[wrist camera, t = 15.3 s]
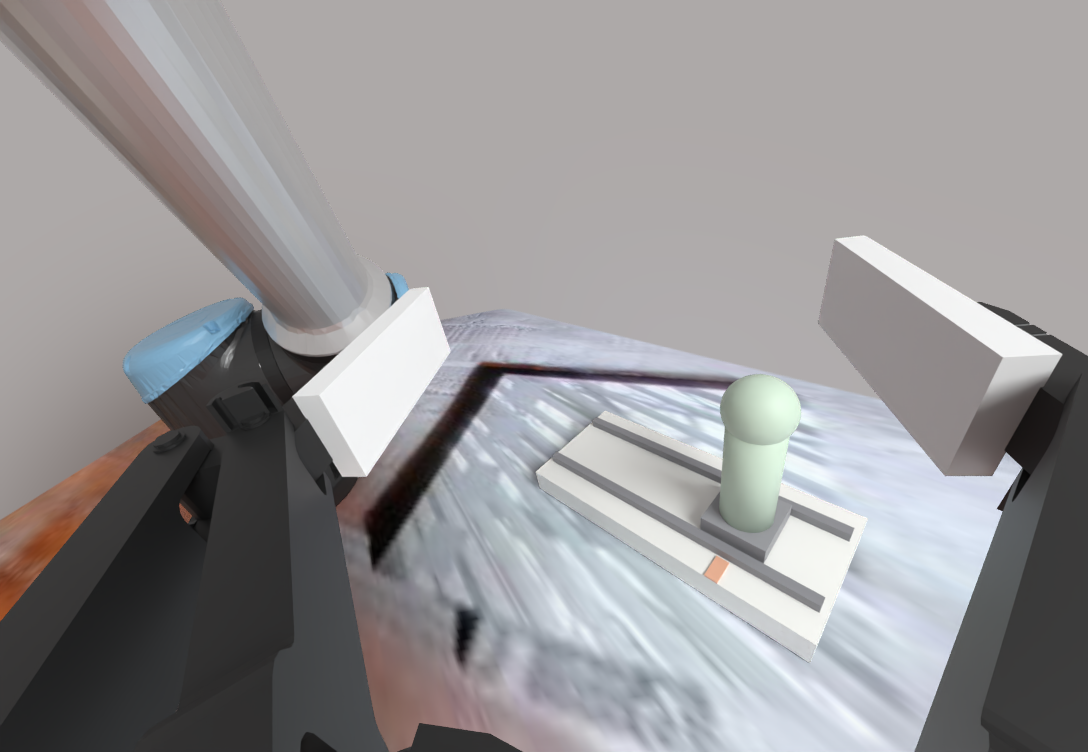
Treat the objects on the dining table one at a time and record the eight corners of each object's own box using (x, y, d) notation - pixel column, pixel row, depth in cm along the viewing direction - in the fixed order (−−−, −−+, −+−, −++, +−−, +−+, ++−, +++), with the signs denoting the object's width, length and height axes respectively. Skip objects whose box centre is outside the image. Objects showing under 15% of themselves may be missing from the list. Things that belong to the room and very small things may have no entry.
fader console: (539, 488, 45) (533, 466, 43) (607, 426, 51) (604, 405, 49) (810, 663, 28) (818, 639, 26) (860, 538, 34) (870, 511, 32)
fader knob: (700, 529, 34) (705, 389, 27) (728, 489, 37) (740, 352, 29) (763, 563, 31) (790, 415, 23) (789, 517, 34) (820, 371, 26)
